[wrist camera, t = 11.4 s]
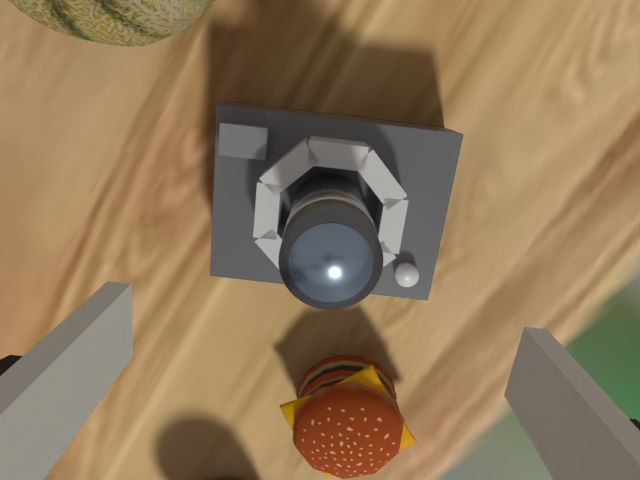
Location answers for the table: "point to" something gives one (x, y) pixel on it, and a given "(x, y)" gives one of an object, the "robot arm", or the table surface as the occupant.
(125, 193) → the table surface
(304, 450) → the hamburger
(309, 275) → the lens
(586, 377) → the robot arm
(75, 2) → the cantaloupe
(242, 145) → the camera body
